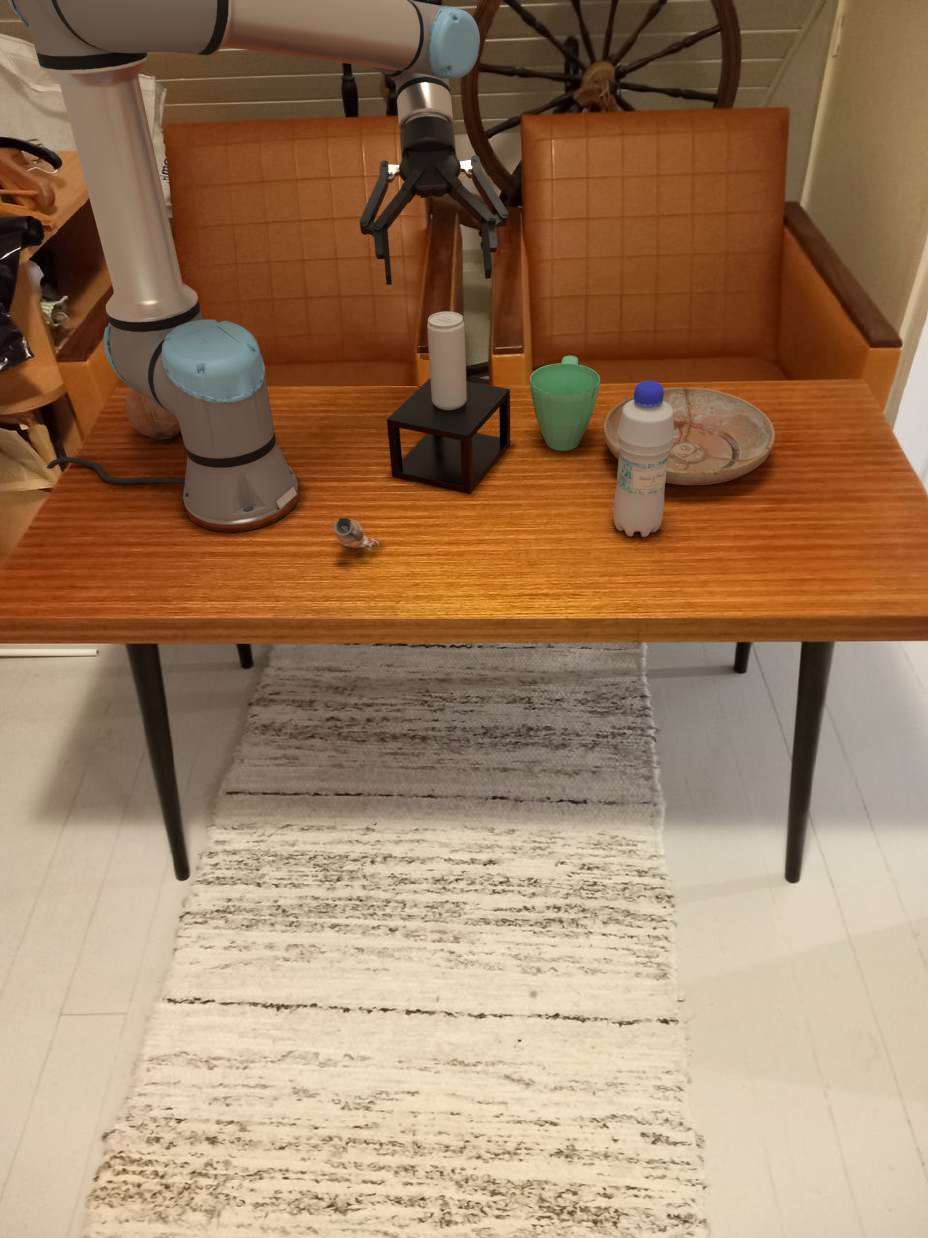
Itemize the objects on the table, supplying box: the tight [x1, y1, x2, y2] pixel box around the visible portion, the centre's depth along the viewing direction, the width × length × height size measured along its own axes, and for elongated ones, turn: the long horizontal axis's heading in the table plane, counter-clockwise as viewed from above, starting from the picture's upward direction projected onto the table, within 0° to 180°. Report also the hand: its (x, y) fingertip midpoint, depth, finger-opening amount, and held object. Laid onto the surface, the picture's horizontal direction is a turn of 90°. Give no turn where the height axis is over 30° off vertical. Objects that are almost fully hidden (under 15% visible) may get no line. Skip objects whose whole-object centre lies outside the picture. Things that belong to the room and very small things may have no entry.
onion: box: [124, 387, 181, 441], centre depth 146 cm, size 10×9×10 cm
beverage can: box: [426, 311, 467, 410], centre depth 131 cm, size 5×5×12 cm
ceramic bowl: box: [602, 386, 776, 486], centre depth 137 cm, size 23×24×5 cm
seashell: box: [324, 517, 380, 551], centre depth 122 cm, size 5×5×6 cm
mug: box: [529, 355, 601, 452], centre depth 142 cm, size 15×10×10 cm
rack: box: [386, 378, 511, 495], centre depth 137 cm, size 12×14×9 cm
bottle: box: [612, 380, 674, 538], centre depth 120 cm, size 7×7×20 cm
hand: (438, 277), depth 134 cm, fingers open, 13 cm apart
